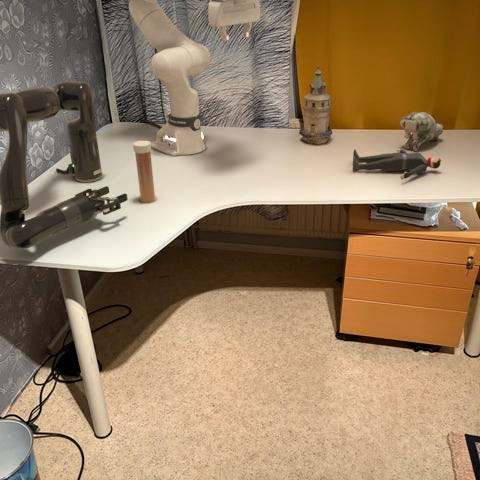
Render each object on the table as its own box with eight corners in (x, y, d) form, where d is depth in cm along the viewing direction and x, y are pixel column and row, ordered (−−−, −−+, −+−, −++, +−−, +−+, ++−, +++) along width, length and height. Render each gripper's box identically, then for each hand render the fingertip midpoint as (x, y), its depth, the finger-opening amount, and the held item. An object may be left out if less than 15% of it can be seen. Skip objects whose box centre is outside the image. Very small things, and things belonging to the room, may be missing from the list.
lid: (150, 153, 162) (150, 146, 161) (132, 154, 162) (132, 146, 161) (152, 147, 167) (151, 140, 166) (134, 147, 167) (134, 140, 165)
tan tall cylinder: (154, 202, 171) (149, 147, 162) (140, 203, 170) (133, 147, 161) (155, 196, 175) (150, 142, 166) (141, 196, 174) (135, 142, 165)
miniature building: (320, 132, 228) (325, 59, 214) (338, 142, 217) (344, 66, 203) (293, 137, 224) (296, 63, 209) (310, 147, 213) (314, 69, 198)
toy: (354, 141, 202) (437, 142, 196) (353, 157, 206) (435, 158, 199) (352, 166, 180) (446, 168, 174) (351, 183, 183) (444, 186, 177)
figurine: (429, 162, 206) (454, 135, 215) (417, 119, 197) (443, 93, 206) (407, 162, 213) (432, 135, 222) (394, 121, 204) (421, 95, 213)
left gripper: (85, 207, 145) (131, 187, 156) (55, 193, 153) (100, 175, 164) (90, 231, 149) (134, 210, 160) (59, 217, 157) (104, 198, 168)
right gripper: (251, -11, 174) (251, 34, 181) (204, -7, 161) (206, 42, 168) (265, -10, 170) (264, 36, 177) (218, -5, 158) (219, 44, 164)
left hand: (117, 192), depth 162 cm, fingers open, 8 cm apart
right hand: (235, 39), depth 173 cm, fingers open, 8 cm apart
